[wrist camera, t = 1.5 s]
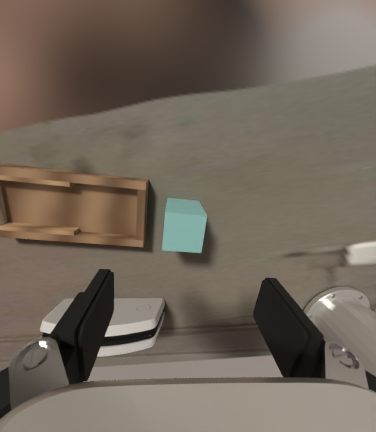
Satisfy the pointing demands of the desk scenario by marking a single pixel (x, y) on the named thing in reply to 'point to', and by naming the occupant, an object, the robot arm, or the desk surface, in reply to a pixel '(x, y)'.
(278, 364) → the robot arm
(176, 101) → the desk surface
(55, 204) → the slot board
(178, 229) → the aqua rectangular block
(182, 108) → the desk surface
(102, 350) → the white piece
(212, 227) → the desk surface
